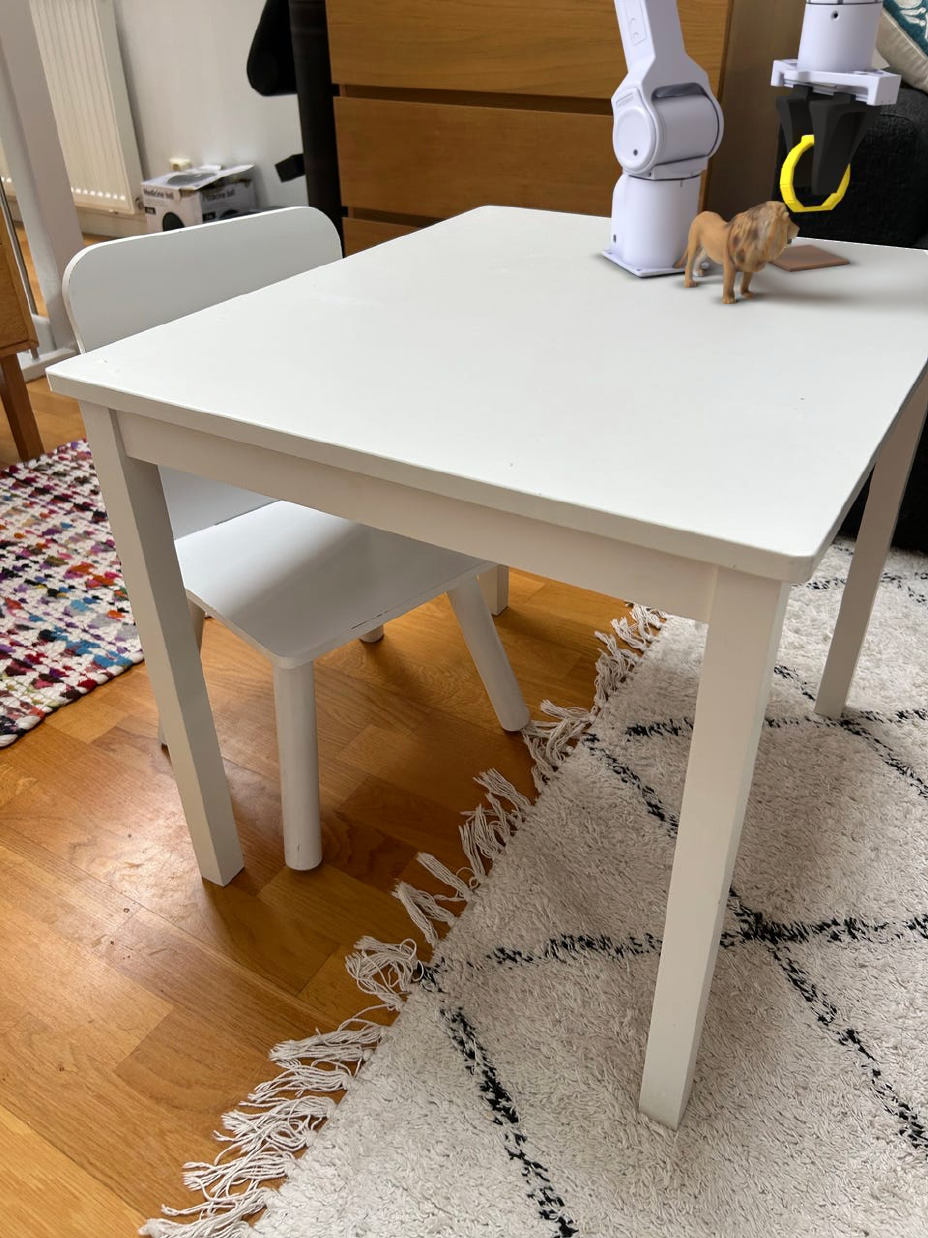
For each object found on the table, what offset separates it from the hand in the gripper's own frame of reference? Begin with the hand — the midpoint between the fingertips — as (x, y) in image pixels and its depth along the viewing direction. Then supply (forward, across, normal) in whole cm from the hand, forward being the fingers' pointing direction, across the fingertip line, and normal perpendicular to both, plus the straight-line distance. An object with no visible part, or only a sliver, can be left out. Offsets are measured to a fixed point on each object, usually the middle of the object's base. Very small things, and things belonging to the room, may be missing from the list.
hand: (812, 189), depth 83 cm
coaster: (+10, -13, +9) cm, 18 cm away
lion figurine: (+10, -6, -4) cm, 12 cm away
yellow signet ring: (+2, +1, -1) cm, 2 cm away
